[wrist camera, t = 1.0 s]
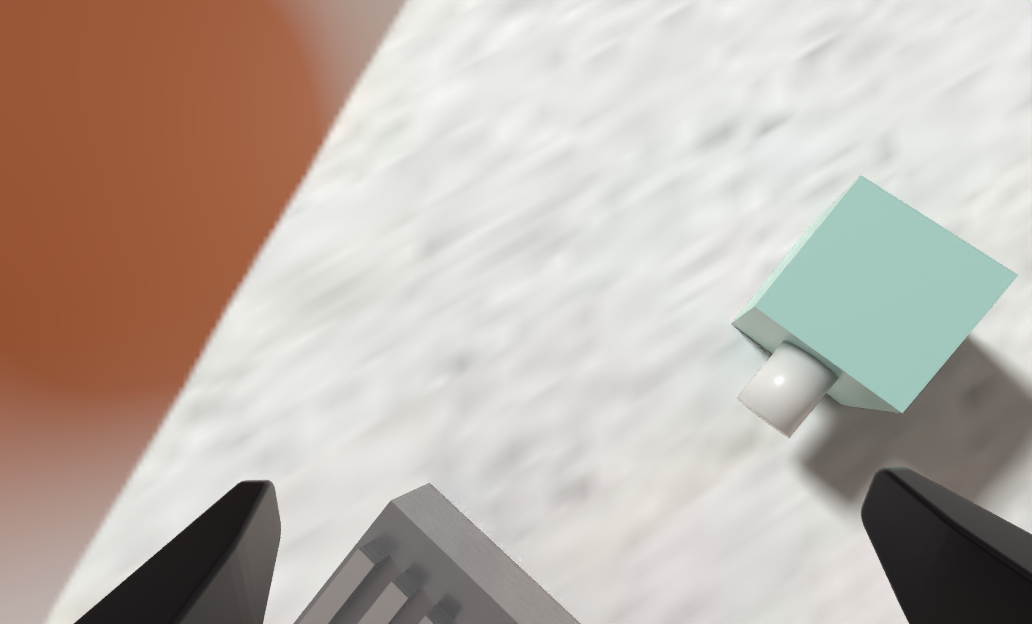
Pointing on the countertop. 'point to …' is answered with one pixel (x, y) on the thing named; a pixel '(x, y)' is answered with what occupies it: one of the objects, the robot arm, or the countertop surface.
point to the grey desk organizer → (429, 574)
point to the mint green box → (864, 309)
